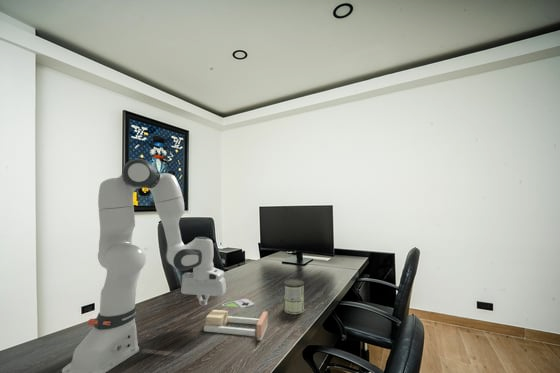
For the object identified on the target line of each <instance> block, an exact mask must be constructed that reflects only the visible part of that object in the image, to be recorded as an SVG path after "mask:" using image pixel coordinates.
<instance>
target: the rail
mask: <svg viewBox="0 0 560 373" xmlns="http://www.w3.org/2000/svg"><path fill="white" fill-rule="evenodd" d="M268 317H269V312H268V311H266V310H265V311H264V310H263V312H262V313H261V315H260V317H259V318H253V317H245V316H231V315H228V322H227V324H226V325H225V326H213V325H206V324H205V325H204V326H203V329H202V330H201V332H202V333H212V334H219V335H220V334H221V335H224V334H225V335H230V336H232V335H233V336H238V337H241V336H242V337H250V338H256V341H262V340H263V339H264V338H263V337H264V334H265V332H266V330H267V328H268V325H269V324H268V323H269V321H268V319H269V318H268Z"/></svg>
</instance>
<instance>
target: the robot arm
mask: <svg viewBox="0 0 560 373" xmlns="http://www.w3.org/2000/svg"><path fill="white" fill-rule="evenodd" d="M138 189H148V190H149V191H150V193H151V195H152V197H153V198H152V199H153V202H154V205H155V210H156V213H157V215H158V217H159V219H160V221H161V224H162V228H163V232H164V237H165V241H166V249H165V256H164V257H165V260H166V262H167V264H169V265H170V266H172V267H174V268H175V269H177V270H179V271H182V272H183V271H185V272H184V273H183V274H182V277H181V281H182V282H181V286H180V288H181V289H180V292H181V294H182V295H194V296H195V295H196V298H197V299H198V301H199V305H200V306H201V305H202V306H206V305H208V299H209V298H210V297H215V296H216V297H222V296H224V295H225V293H226V292H227V287H226V286H227V285H226V284H227V283H226V279H225V277H224V275H225V271H224V270H222V269H219V268H216V267H214V266H215V265H214V264H215V263H214V261H213V260H214V256H215V255H214V254H215V253H214V242H213V240H212V239H211V238H209V237H207V236H196V237H194V239H193V240H192V241H190V242H188V243H187V244H184V242H183V240H182V234H181V229H180V220H181V218H182V216H183V215H184V214H185V201H184V200H185V199H184V196H183V193H182V189H181V186H180V184H179V182H178V179H177V178H176V176H175V175H173V173H168V172H165V173H161V172H160V171H158V170H157V168H155V166H154V165H153V164H152V163H150V162H149V161H148V160H144V159H143V158H142V159H141V158H136V159H131V160H129V161H127V162H126V163H125V164H124V165H123V167H122V171H121V175H120V176H118V177H110V178H108V179H105V180H103V181H102V182H101V183H100V185H99V189H98V198H97V199H98V201H97V202H98V203H97V204H98V218H99V240H98V253H97V260H98V263H99V265H100V266H101V267H102V268H104V269H106V277H105V280H104V285H103V287H102V289H101V290H100V301H99V312H98V314H97V316H96V318H95V319H94V318H89V319H88V321H87V326H91V327H93V328H92V329H91V330H90V332H89V331H88V332H89V333H87V335H86V336H85V337H84V338H83V340H82V341H81V342H80V343H79V344H78V345H77V346H76V348H75V349H74V351H73V354H72V360H71V361H70V363H68V364H66V366H63V368H62V369H61V372H62V373H107V372H109V371H110V370H112V369H113V368H115V367H116V366H118V365H119V364H122V363H123V362H125V361H126V360H127V359H130V357H132V356H134V355H136V354H137V353H139V352H140V347H139V345H138V344H139V341H138V332H137V330H138V329H137V324H136V317H137V306H136V294H137V292H136V291H137V285H138V280H139V277H140V274H141V271H142V270H143V268H144V266H145V265H146V261H147V259H146V254H145V253H144V251H143V250H142V248H140V247H139V246H137V245H134V244H133V232H134V228H135V227H136V219H135V218H136V216H135V205H134V192H135V191H136V190H138ZM189 270H192V272H186V271H189ZM202 296H204V298H205V299H203V297H202Z"/></svg>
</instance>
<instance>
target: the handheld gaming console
mask: <svg viewBox="0 0 560 373" xmlns="http://www.w3.org/2000/svg"><path fill="white" fill-rule="evenodd" d="M222 306H223V307H234V308H247V309H248V308H252V307H255V302H253V301H251V300H250V299H248V298H241V299H237V300H233V301H229V302H225V303H222V304H221V307H222Z"/></svg>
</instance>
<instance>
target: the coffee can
mask: <svg viewBox="0 0 560 373" xmlns="http://www.w3.org/2000/svg"><path fill="white" fill-rule="evenodd" d="M304 285H305V282H304V281H303V280H302V279H297V278H290V279H285V280H284V281H283V288H284V289H283V290H284V291H283V292H284V293H283V295H284V296H283V303H284V304H283V307H284V308H283V310H284V312H285V313H286V314H289V315H299V314H302V313H304V310H305V309H304V305H305V302H304V289H305V288H304Z"/></svg>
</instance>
